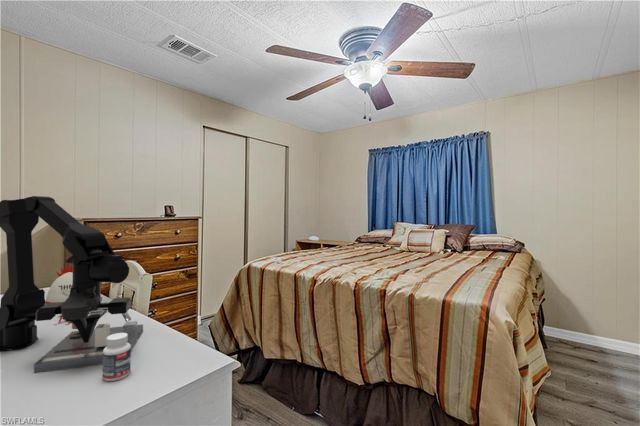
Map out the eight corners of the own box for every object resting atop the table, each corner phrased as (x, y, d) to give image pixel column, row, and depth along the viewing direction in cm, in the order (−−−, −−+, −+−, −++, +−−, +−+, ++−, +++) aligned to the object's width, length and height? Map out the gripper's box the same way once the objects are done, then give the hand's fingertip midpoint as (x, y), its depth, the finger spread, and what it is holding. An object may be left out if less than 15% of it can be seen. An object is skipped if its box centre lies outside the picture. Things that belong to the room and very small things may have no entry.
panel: (33, 373, 69) (34, 355, 69) (72, 338, 88) (72, 324, 88) (125, 360, 75) (125, 344, 75) (142, 330, 94) (142, 317, 94)
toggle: (124, 323, 88) (115, 307, 87) (126, 321, 90) (117, 305, 89) (131, 319, 89) (122, 303, 88) (133, 317, 91) (124, 301, 90)
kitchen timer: (93, 301, 125) (93, 264, 125) (48, 309, 114) (49, 269, 114) (85, 294, 134) (85, 260, 134) (43, 301, 124) (43, 264, 124)
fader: (94, 347, 77) (94, 328, 77) (99, 342, 80) (99, 323, 80) (106, 346, 78) (106, 326, 78) (109, 341, 81) (109, 322, 81)
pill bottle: (116, 383, 66) (116, 342, 66) (96, 380, 67) (96, 339, 67) (136, 370, 71) (136, 332, 71) (117, 368, 72) (117, 330, 72)
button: (69, 329, 83) (69, 322, 83) (75, 324, 87) (75, 317, 87) (86, 328, 84) (87, 320, 84) (92, 323, 88) (92, 316, 88)
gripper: (21, 291, 67) (21, 362, 67) (120, 285, 73) (119, 350, 73) (47, 280, 77) (47, 342, 78) (132, 276, 84) (131, 332, 84)
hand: (86, 341), depth 78 cm, fingers closed
